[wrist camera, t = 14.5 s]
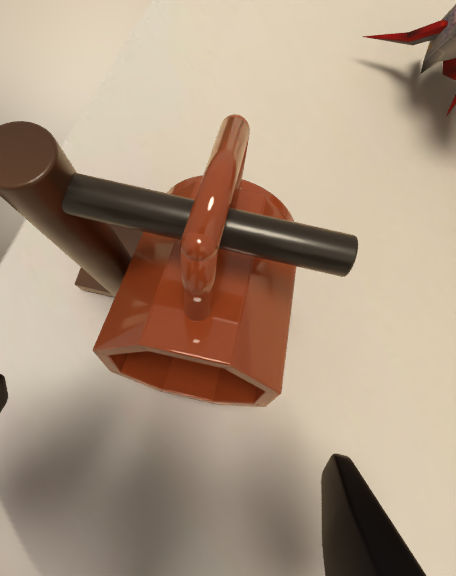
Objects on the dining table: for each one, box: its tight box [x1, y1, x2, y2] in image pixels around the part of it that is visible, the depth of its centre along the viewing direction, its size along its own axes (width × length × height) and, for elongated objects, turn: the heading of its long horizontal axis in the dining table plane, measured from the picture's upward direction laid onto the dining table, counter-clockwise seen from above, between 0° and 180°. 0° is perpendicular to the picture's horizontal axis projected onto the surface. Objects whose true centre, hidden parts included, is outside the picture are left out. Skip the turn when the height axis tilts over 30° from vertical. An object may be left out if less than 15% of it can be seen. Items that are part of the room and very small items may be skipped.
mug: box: [93, 114, 296, 407], centre depth 13 cm, size 11×7×8 cm
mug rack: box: [0, 121, 358, 297], centre depth 15 cm, size 8×12×14 cm, turn 77°
